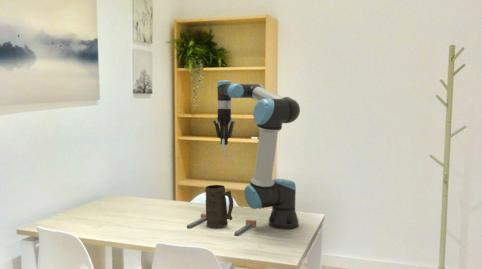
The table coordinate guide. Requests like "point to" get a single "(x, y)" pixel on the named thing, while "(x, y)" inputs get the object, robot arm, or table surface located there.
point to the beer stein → (217, 206)
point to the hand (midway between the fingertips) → (224, 150)
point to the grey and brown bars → (248, 225)
